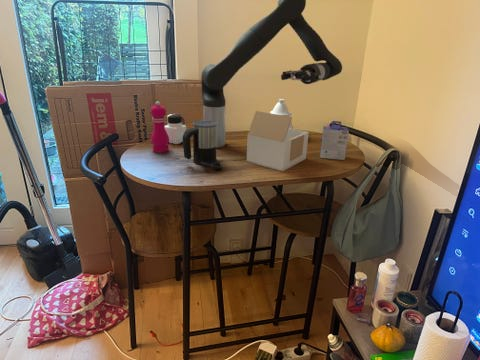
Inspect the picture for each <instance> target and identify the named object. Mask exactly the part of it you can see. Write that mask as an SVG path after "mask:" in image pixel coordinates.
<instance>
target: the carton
mask: <svg viewBox="0 0 480 360" xmlns="http://www.w3.org/2000/svg"><path fill="white" fill-rule="evenodd" d="M309 133H310V132H309V131H308V130H307V131H306V130H302V129H297V128H293V129H292V128H288V131H287V134H286V137H285V140H284V142H281V141H277V140H272V139H268V138H263V137H259V136H254V135H250V134H248V133H247V140H246V141H247V143H246V144H247V146H246V162H247V163H249V164H254V165H257V166H261V167H263V168H267V169H272V170H275V171H279V172H282V173H283V172H285V171H287V170H288V169H291V168H292V167H294V166H296V165H297V164H300V163H301V162H303V161H305V160H306V158H307V150H308V143H309V142H308V141H309Z"/></svg>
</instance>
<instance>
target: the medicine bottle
mask: <svg viewBox="0 0 480 360" xmlns="http://www.w3.org/2000/svg"><path fill="white" fill-rule="evenodd" d="M166 117H167V125H164V127H165V130H166V132H167V134H168V136H169V143H168V144H172V143H173V145H179V144H181V142H182V143H183V134H184V132H185V131H186V130H187V125H185V124H183V122H182V121H183V120H182V115H180V114H178V113H173V114H168V115H167V116H166Z"/></svg>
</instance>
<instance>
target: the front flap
mask: <svg viewBox="0 0 480 360" xmlns="http://www.w3.org/2000/svg"><path fill="white" fill-rule="evenodd" d="M292 119H293V117H291V116H290V117H287V116H282V115H276V114H270V112H264V111H258V110H255V113H254V115H253V118H252V121H251V124H250V127H249V130H248V133H247V135H248V134H250V135H254V136H259V137H263V138H268V139H272V140H277V141H281V142H284V140H285V137H286V134H287V131H288V128H289V125H290V122H292Z"/></svg>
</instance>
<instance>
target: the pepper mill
mask: <svg viewBox="0 0 480 360" xmlns="http://www.w3.org/2000/svg"><path fill="white" fill-rule="evenodd" d="M166 114H167V110H166V107H164V106H163V105H161V103H160V101H155V105H153V106H152V107H151V108H150V115H151V116H152V117H151V118H152V119H151V121H152V122H153V131H152V134H151V137H150V139H151V140H150V141H151V143H152V145H153V146H152V150H153V152H156V153H165V151H166V152H168V151H169V145H168V144H169V143H168V142H169V136H168V134H167V132H166V130H165V127H164V126H165V122H166Z"/></svg>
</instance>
